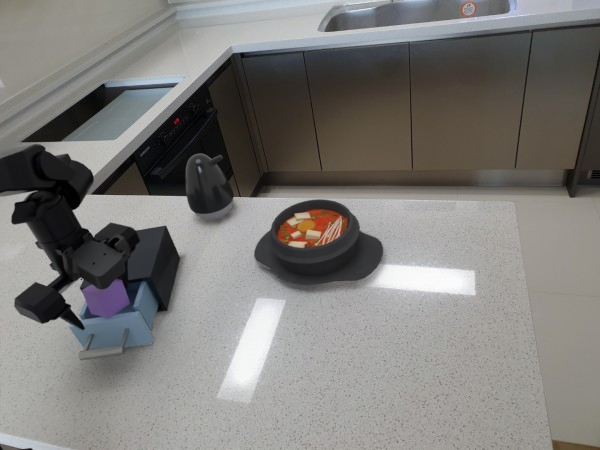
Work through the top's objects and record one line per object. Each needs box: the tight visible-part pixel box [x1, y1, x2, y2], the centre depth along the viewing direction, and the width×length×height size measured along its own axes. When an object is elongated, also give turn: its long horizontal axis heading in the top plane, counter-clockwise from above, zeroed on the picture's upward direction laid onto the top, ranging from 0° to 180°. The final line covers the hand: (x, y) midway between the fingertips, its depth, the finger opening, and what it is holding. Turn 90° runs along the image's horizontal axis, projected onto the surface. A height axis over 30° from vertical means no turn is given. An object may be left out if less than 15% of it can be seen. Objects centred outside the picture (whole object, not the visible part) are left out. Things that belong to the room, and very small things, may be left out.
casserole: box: [253, 198, 384, 286], centre depth 85 cm, size 25×19×8 cm
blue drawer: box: [68, 281, 159, 361], centre depth 78 cm, size 18×11×7 cm, turn 2°
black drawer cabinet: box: [79, 225, 181, 313], centre depth 87 cm, size 15×13×9 cm
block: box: [81, 279, 130, 318], centre depth 75 cm, size 4×4×4 cm
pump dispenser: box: [184, 153, 235, 221], centre depth 101 cm, size 10×10×15 cm
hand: (105, 307), depth 73 cm, fingers open, 9 cm apart
